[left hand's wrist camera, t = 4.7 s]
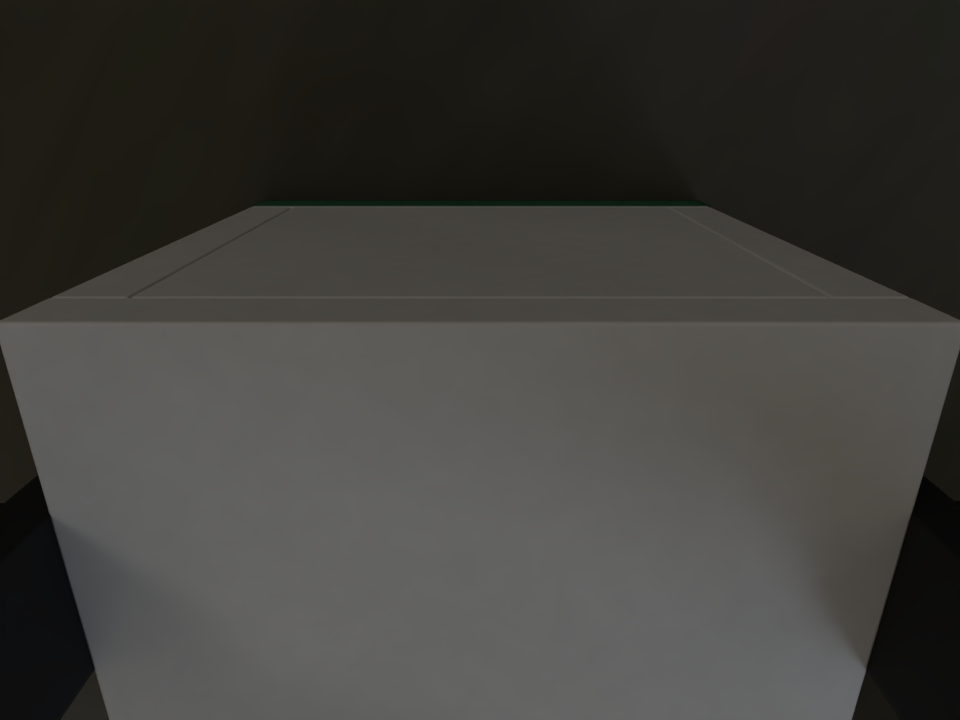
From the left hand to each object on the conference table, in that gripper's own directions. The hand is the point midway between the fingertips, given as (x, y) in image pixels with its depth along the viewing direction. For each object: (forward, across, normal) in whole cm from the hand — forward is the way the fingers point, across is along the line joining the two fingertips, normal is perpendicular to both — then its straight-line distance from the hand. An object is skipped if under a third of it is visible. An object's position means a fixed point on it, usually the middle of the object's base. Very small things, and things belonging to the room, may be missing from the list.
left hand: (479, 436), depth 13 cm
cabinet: (+5, 0, -5) cm, 8 cm away
